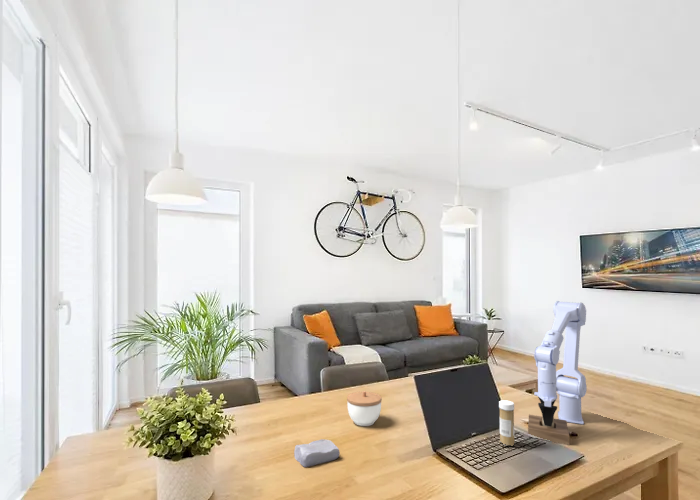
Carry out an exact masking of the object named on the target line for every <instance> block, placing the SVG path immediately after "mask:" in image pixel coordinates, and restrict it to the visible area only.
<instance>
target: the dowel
mask: <svg viewBox="0 0 700 500" xmlns="http://www.w3.org/2000/svg"><path fill="white" fill-rule="evenodd" d="M554 419H555V416H554V417H553V422H552V426H545V425H544V421H543V416H542V426H545V427H551V428H554Z"/></svg>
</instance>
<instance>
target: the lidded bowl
mask: <svg viewBox="0 0 700 500" xmlns="http://www.w3.org/2000/svg"><path fill="white" fill-rule="evenodd" d="M346 398H347V399H346V400H347V412H348V415H349V417H350V419H351V420H352V421H353V423H354V424H355V425H357V426H358V427H359V426H360V427H370V426H373V425H374V424H375V422H376V421H377V420H378V418H379V417H380V415H381V410H382V396H381V395H380V394H379V393H376V392H371V391H366V390H363V391H356V392H352V393H349V394H348V395H347V396H346Z"/></svg>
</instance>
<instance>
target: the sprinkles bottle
mask: <svg viewBox="0 0 700 500" xmlns="http://www.w3.org/2000/svg"><path fill="white" fill-rule="evenodd" d="M498 408H499V442H500V441H501V442H502V443H503V444H506V445H511V446H513V445H514V443H515V423H514V422H515V416H514V415H515V414H514V413H515V412H514V411H515V403H514V401H512V400H511V401H510V400H505V399H502V400H500V401H498Z"/></svg>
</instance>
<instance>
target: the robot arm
mask: <svg viewBox="0 0 700 500" xmlns="http://www.w3.org/2000/svg"><path fill="white" fill-rule="evenodd" d="M552 312H553V315H554V319H553V320H554V321H553V322H552V327H551V329H550V330H547V331H546V332H545V335H544V337H543V339H542V342H541V344H540V345H539V346H536V348H535V349H534V354H533V357H534V358H533V359H534V360H535V367H536V368H537V391H533V392H534V396H536V397H537V398H538V400H539V402H538V404H537V405H538V408H539V409H540V412H541V415H542V416H543V421H544V425H545V426H552V422H553V417H554V418H555V413H556V411H557V409H558V406H559V410H558V411H557V417H558V419H561V420H566V422H567V423H572V424H578V425H585V423H584V420H583V416H582V398H584V397H585V396H586V394H587V389H588V388H587V381H586V380H587V379H586V376H585V375H584V374H583V373H582V372H581V371H580V370H579V369H578V368H579V356H580V354H579V352H580V337H581V328H582V327H583V326H585V325H586V321H587V309H586V306H585V303H583V302H573V301H572V302H571V301H559V300H556V301H555V302H554V303H553V311H552ZM564 332H565V335H563V333H564ZM564 336H565V337H564ZM563 341H564V348H563V364H562V365H563V366H562V367H561V368H560V369H557V365H558V364H559V361H560V354H561V353H560V352H561V350H560V348H561V346H562V344H563ZM558 395H559V396H558ZM558 397H559V398H558ZM557 399H559V400H558V403H559V405H558V406H557V405H555V403H556V401H557Z"/></svg>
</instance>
